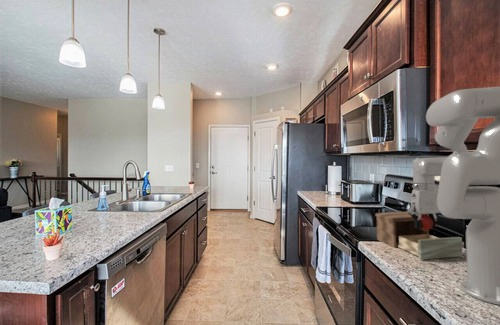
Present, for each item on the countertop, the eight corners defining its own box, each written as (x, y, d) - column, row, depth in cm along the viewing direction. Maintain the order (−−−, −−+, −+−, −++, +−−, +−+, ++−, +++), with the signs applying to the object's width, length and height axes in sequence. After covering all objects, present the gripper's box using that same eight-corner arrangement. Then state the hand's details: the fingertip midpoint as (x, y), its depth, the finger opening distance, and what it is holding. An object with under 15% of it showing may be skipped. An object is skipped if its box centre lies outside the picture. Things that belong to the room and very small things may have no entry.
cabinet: (429, 245, 112) (428, 216, 112) (393, 247, 110) (392, 218, 110) (409, 237, 125) (408, 211, 125) (376, 239, 122) (375, 213, 122)
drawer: (462, 256, 97) (461, 237, 97) (421, 259, 95) (420, 240, 95) (430, 244, 112) (430, 228, 112) (394, 247, 109) (394, 230, 109)
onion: (418, 228, 108) (418, 210, 108) (434, 230, 104) (434, 212, 104) (415, 231, 104) (414, 212, 104) (431, 233, 100) (431, 214, 100)
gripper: (412, 188, 99) (414, 232, 99) (449, 186, 101) (450, 229, 101) (399, 186, 106) (400, 227, 106) (433, 185, 108) (435, 224, 108)
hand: (425, 227), depth 104 cm, fingers closed on onion, 5 cm apart
